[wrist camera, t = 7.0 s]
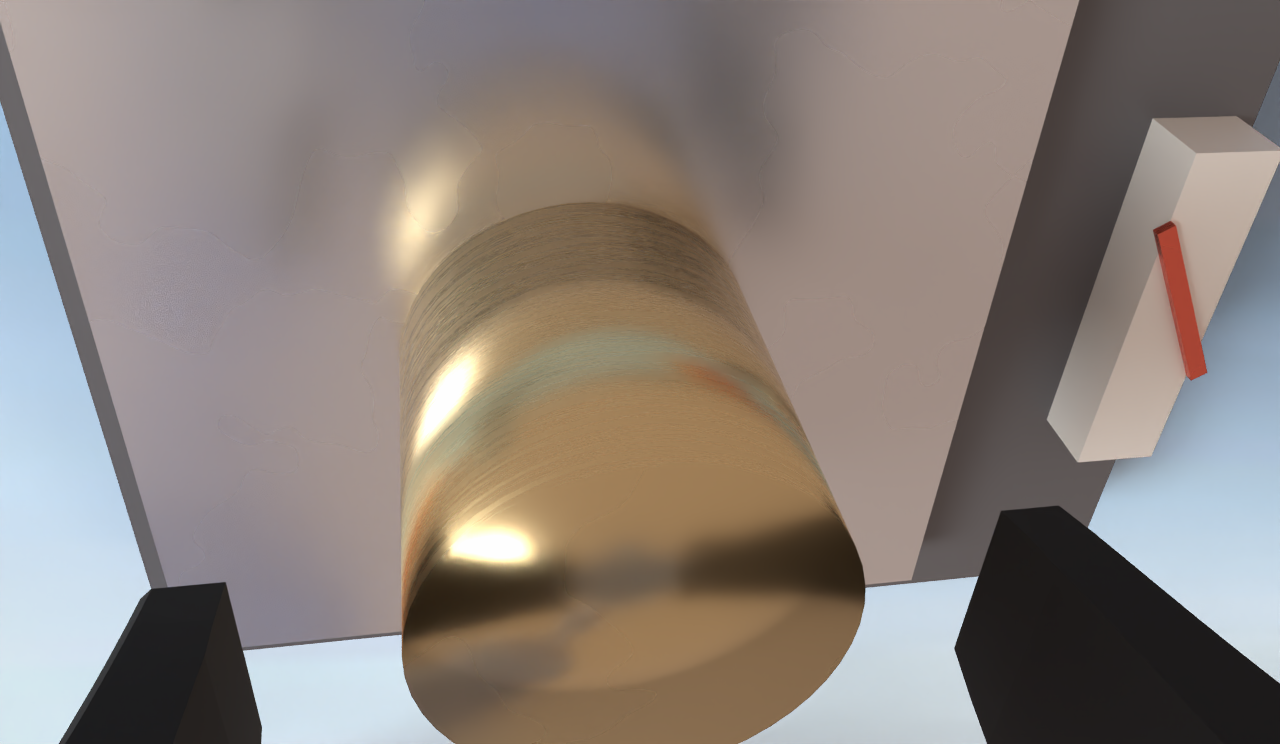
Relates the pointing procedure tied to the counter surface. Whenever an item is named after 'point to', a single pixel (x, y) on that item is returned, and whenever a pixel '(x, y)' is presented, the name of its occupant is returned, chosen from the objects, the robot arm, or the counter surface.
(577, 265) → the cylinder
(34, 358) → the counter surface
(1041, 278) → the scale
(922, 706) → the counter surface
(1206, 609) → the counter surface
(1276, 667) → the counter surface
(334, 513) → the platform
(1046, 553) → the robot arm
